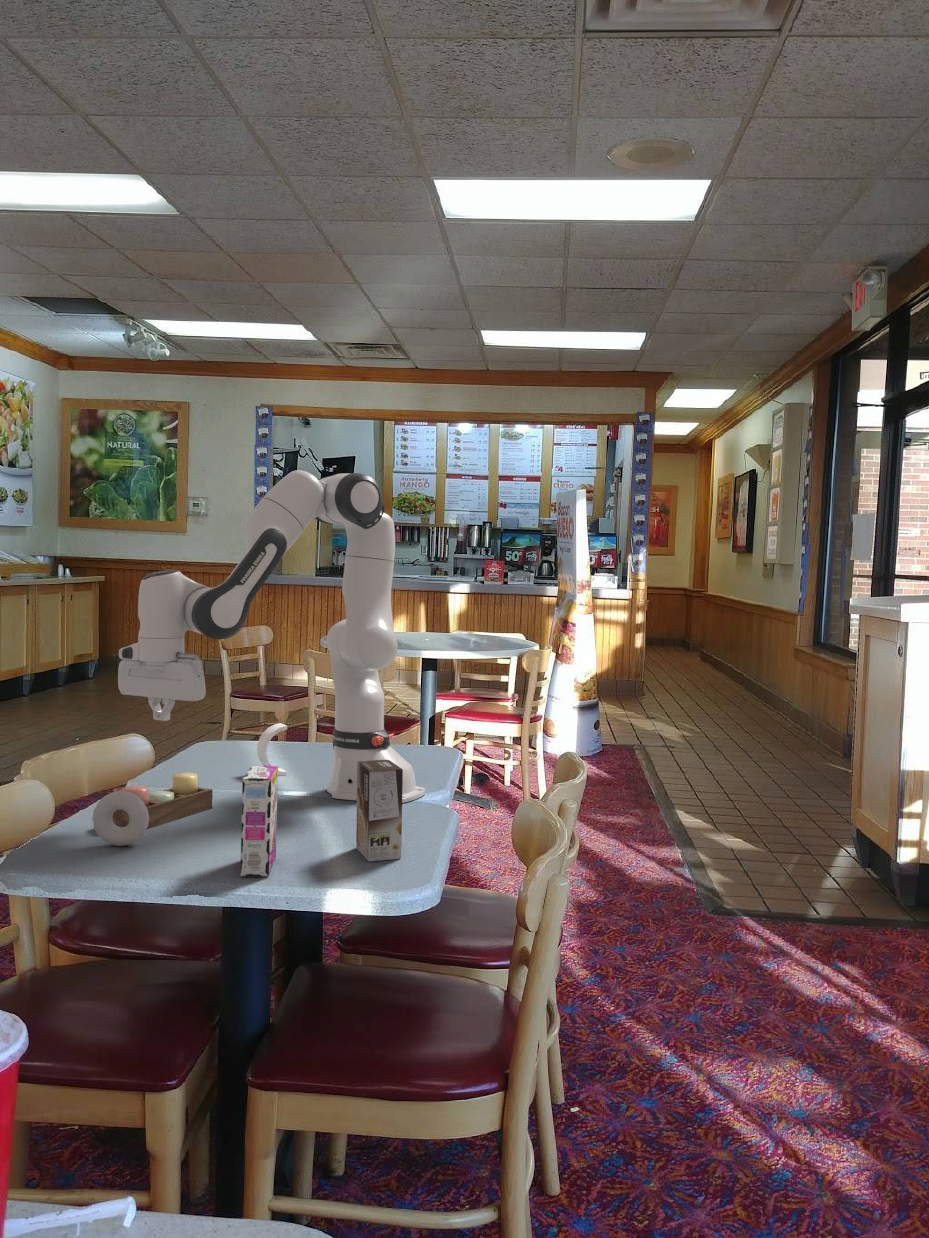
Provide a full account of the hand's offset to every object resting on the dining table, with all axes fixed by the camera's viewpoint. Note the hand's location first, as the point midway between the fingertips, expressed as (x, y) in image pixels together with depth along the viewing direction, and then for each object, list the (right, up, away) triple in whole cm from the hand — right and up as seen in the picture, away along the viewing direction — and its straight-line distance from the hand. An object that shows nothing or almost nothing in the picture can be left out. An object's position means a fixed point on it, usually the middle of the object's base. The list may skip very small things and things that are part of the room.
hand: (161, 719), depth 193 cm
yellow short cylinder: (+3, -16, +6) cm, 17 cm away
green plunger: (0, -19, 0) cm, 19 cm away
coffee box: (+45, -22, -21) cm, 54 cm away
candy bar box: (+26, -22, -30) cm, 45 cm away
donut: (-1, -21, -20) cm, 29 cm away
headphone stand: (+14, -18, +41) cm, 47 cm away
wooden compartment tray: (0, -20, 0) cm, 20 cm away
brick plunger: (-3, -17, -6) cm, 18 cm away
